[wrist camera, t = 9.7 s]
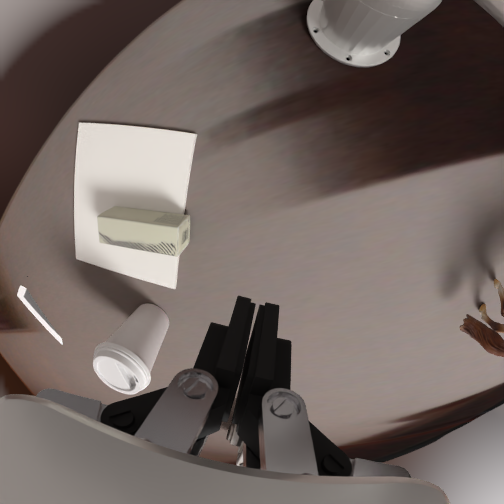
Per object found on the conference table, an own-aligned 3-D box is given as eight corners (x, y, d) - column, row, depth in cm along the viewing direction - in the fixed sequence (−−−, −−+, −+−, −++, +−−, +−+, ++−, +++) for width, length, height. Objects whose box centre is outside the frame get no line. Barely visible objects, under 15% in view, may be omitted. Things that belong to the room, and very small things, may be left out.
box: (190, 243, 42) (116, 231, 43) (191, 214, 40) (115, 204, 41) (177, 258, 37) (98, 244, 38) (177, 226, 36) (95, 215, 37)
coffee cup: (175, 345, 52) (146, 405, 38) (129, 329, 52) (92, 383, 38) (179, 305, 48) (144, 367, 34) (129, 288, 48) (84, 342, 34)
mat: (81, 122, 37) (79, 122, 36) (196, 134, 36) (195, 134, 36) (78, 257, 47) (76, 258, 46) (176, 287, 46) (174, 289, 46)
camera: (236, 402, 57) (229, 440, 48) (274, 410, 56) (270, 448, 47) (226, 431, 62) (219, 464, 53) (258, 438, 62) (254, 471, 53)
